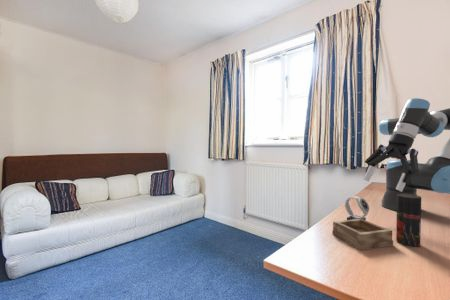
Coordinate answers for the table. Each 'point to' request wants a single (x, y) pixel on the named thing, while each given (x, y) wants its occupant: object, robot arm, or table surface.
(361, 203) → the watch
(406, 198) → the deodorant
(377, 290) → the table surface
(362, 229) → the crate
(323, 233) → the table surface
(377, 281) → the table surface
